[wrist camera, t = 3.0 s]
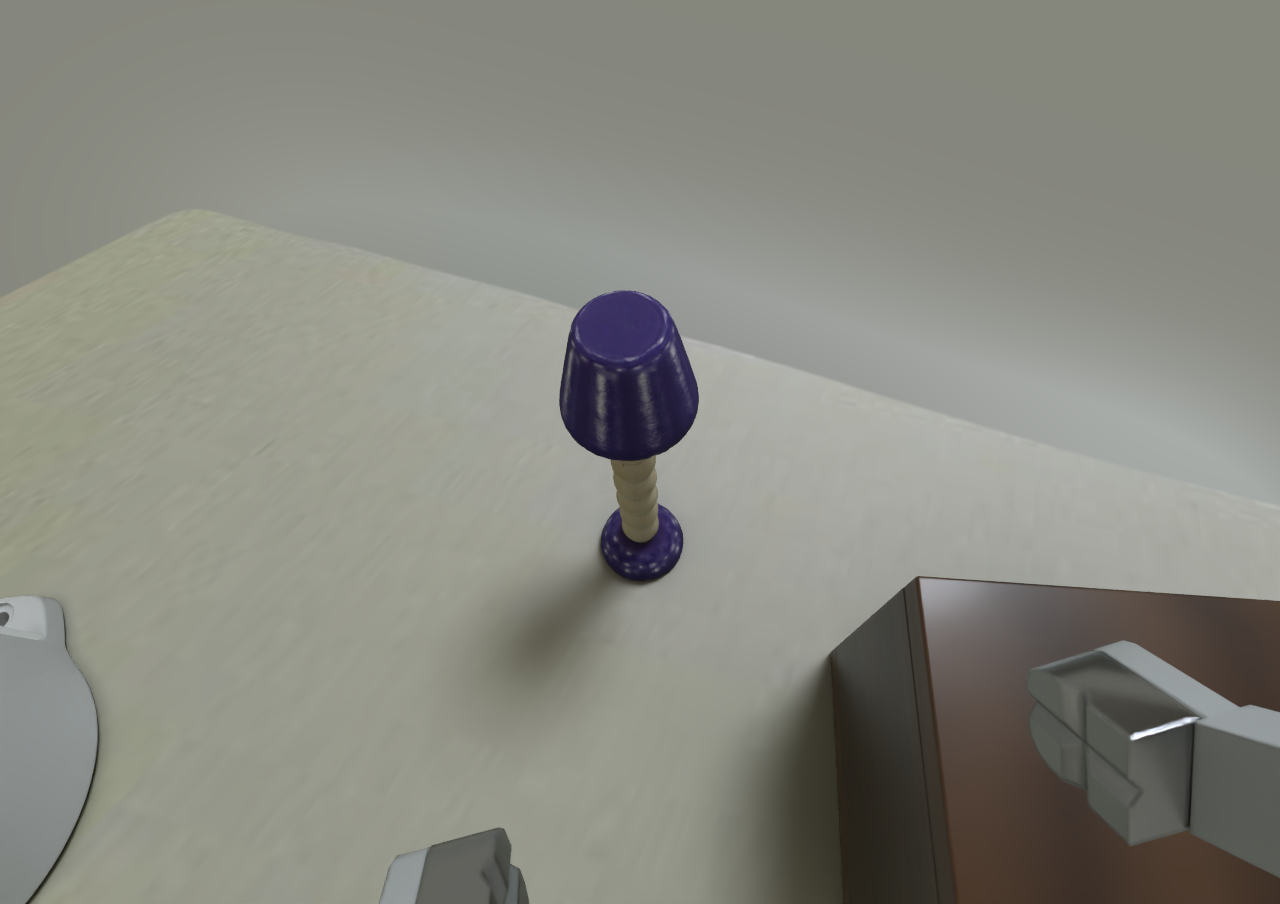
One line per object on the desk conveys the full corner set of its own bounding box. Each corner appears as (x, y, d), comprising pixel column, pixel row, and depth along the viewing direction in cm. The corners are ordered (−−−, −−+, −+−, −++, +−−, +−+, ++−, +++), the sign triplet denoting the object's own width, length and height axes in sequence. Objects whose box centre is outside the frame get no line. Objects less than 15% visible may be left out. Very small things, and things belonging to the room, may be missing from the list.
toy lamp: (615, 488, 33) (563, 256, 19) (700, 504, 33) (715, 276, 18) (592, 572, 31) (512, 384, 16) (682, 591, 30) (682, 413, 16)
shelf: (843, 915, 24) (970, 1020, 13) (830, 651, 29) (916, 574, 18) (1263, 967, 22) (1776, 1129, 12) (1176, 679, 27) (1490, 614, 17)
